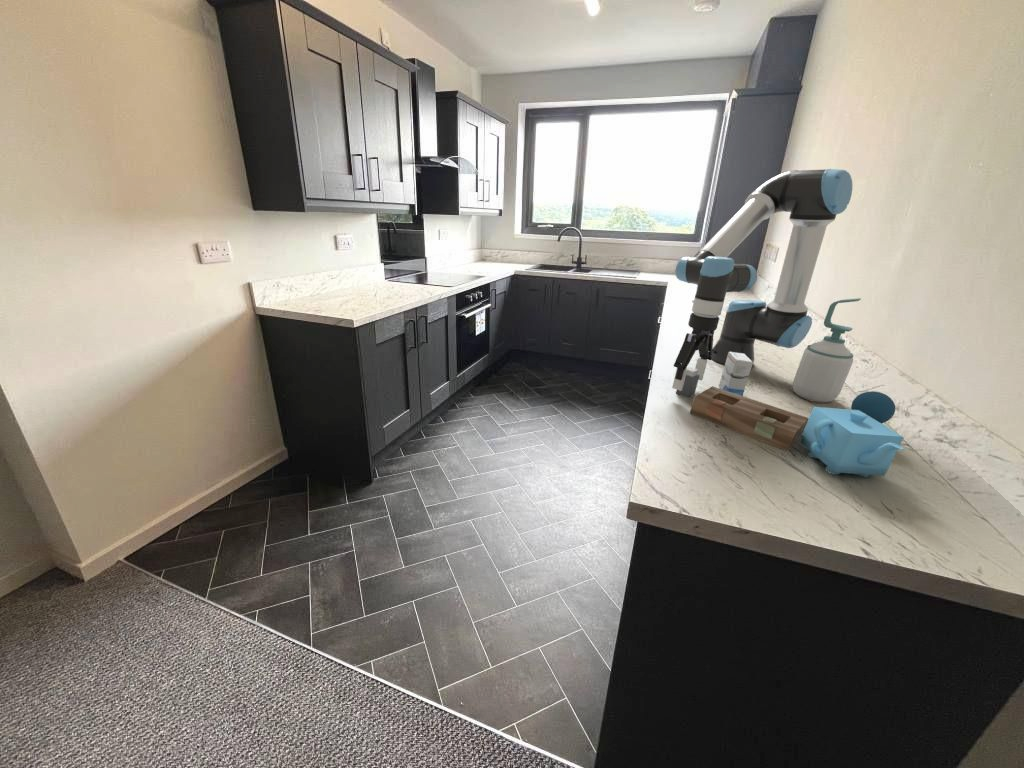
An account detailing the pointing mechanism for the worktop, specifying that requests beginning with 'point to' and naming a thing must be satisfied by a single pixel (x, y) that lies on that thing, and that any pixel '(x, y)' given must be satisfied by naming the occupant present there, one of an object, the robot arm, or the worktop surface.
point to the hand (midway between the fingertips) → (687, 383)
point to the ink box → (735, 373)
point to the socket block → (750, 417)
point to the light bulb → (875, 405)
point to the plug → (689, 383)
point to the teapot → (850, 441)
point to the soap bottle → (824, 364)
